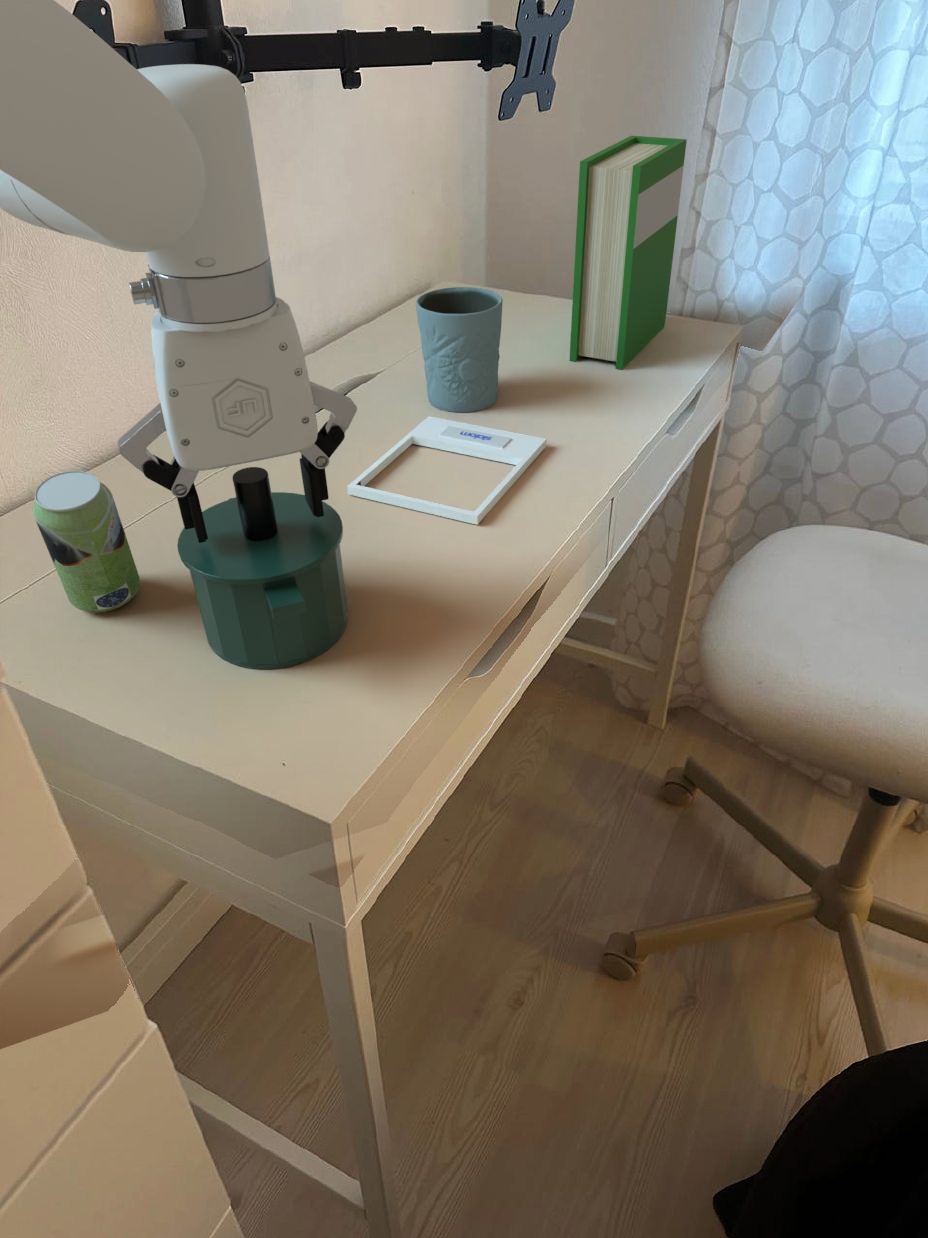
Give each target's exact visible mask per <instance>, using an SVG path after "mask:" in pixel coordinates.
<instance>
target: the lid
mask: <svg viewBox="0 0 928 1238" xmlns="http://www.w3.org/2000/svg"><path fill="white" fill-rule="evenodd" d="M232 484H233V487H234V493H235V497H236V498H235V497H232V498H233V499H230V498H229V499H230V500H229V499H227V500H224V501H222V502H219V503H217V504H214V505H212V506H210V507H208V508H206V509H204V510H202V515H203V519H204V523H205V528H206V532H207V536H208V539H207V540H206V542H202V543H199V542H198V538H197V535H196V532H195V529H194V528H191V529H186V530H185V527H184V526H183V529H181V532H180V534H179V536H178V539H177V552H178V556H179V559H180V561H181V563H182V564H183V565H184V566H185V567H186V568H187V569H188V570H189V572H190V571H192V572H193V573H195V574H197V575H199V576H201V577H203V578H205V579H209V580H212V581H216V582H221V583H227V584H241V585H248V584H262V583H269V582H274V581H279V580H283V579H287V578H291V577H293V576H296V575H299V574H302V573H304V572H306V571H308V570H310V569H312V568H314V567H316V566H318V565H319V564H321V563H322V562H323V561H325V560H326V559H327V558H328V557H330V556H331V555H332V554H333V553H334V551H335V550H336V549H337V548H338V546H339V544H341V542H342V539H343V536H344V527H343V522H342V517H341V516H340V515H339V513H338V511H336V509H335V508H333V506H332V505H330V504H329V503H328V502H325V501H324V500H323V501H322V504H323V512H324V516H321V517H317V516H314V515H313V513H312V511H311V509H310V508H309V506H308V504H307V502H306V499H305V494H302V493H295V492H283V491H282V492H280V491H272V488H271V483H270V477H269V473H268V470H266V469H265V468H264V467H260V466H249V467H245V468H244V467H243V468H241V469H239V470H237V471H235V472H234V473H233V474H232Z"/></svg>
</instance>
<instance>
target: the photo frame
mask: <svg viewBox="0 0 928 1238" xmlns="http://www.w3.org/2000/svg"><path fill="white" fill-rule="evenodd" d="M412 445H417V446H420V447H421V446H422V447H426V448H431V449H435V450H440V451H441V450H442V451H447V452H451V453H455V454H461V455H466V456H470V457H475V458H480V459H484V460H490V461H494V462H498V463H504V464H509V465H513V466H514V467H513V468H512V469H511V470H510V471H509V473H508V474H506V476H505V477H504V478H503V479H502V480H501V481H500V483H498V485H496V487H495V488H494V489H493V490H492V491H491V493H489V494H488V496H487V497H485V499H484V500H483V501H482V503H480V505H479V506H478V507H477V508H476V509H475V510H473V511H472V510H468V509H464V508H460V507H455V506H452V505H447V504H443V503H437V502H433V501H429V500H425V499H420V498H416V497H412V496H408V495H405V494H399V493H394V492H391V491H386V490H382V489H377V488H373V487H369V486H367V484H368V483H369V482H371V481H372V480H373V479H374V478H375V477H376V476H377V475H379V474H380V473H381V472H382V471H383V470H384V469H386V467H387V466H389V465H390V464H391V463H393V461H394V460H396V459H397V458H398V457H400V455H401V454H402V453H403V452H405V451H406V450H407V449H408V448H409V447H410V446H412ZM546 447H547V438H545V437H539V436H533V435H529V434H523V433H518V432H513V431H509V430H504V429H503V430H502V429H498V428H491V427H487V426H482V425H476V424H472V423H471V424H470V423H468V422H462V421H455V420H451V419H446V418H441V417H436V416H430V415H428V416H427V417H426V418H425V419H424V420H422V421H421V422H420V423H419V424H418V425H417V426H415V427H414V428H413V429H412V430H411V431H410V432H409V433H407V434H406V435H405V436H403V438H402V439H400V440H399V441H398V442H397V443H395V445H393V446H392V447H391V448H389V449H388V450H387V451H386V452H385V453H384V454H383V455H381V456H380V457H379V458H378V459H377V460H376V461H375V462H374V463H372V464H371V465H370V466H369V467H367V468H366V469H365V470H364V471H363V472H362V473H360V475H358V476H357V477H356V478H354V480H352V482H350V483H349V484H348V485H347V486H346V489H347V495H349V496H352V497H353V496H354V497H358V498H363V499H367V500H371V501H375V502H380V503H383V504H387V505H391V506H396V507H399V508H405V509H409V510H413V511H418V512H421V513H426V514H431V515H435V516H439V517H443V518H447V519H451V520H456V521H459V522H464V523H468V524H473V525H476V526H477V525H479V524H480V523H481V521H482V520H483V519H484V518H485V517H486V516H487V514H489V512H490V511H491V510H492V509H493V508H494V506H495V505H496V504H498V502H499V501H500V499H502V498H503V497H504V495H505V494H506V493H507V492H508V491H509V490H510V489H511V488H512V486H513V485H514V484H515V483H516V482H517V481H518V479H519V478H520V477H521V476H522V475H523V474H524V472H525V471H526V470H527V469H528V468H529V467H530V466H531V464H532V463H533V462H534V461H535V460H536V459H537V458H538V457H539V455H540V454H541V453H542V452H543V451H544V450H545V449H546Z"/></svg>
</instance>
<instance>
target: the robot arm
mask: <svg viewBox="0 0 928 1238" xmlns="http://www.w3.org/2000/svg"><path fill="white" fill-rule="evenodd" d="M0 209H1V210H2V211H4V212H5V213H7V214H8V215H10V216H12V217H14V218H15V219H17V220H19V221H22V222H24V223H28V224H29V225H33V226H35V227H39V228H41V229H42V228H43V229H46V230H49V231H52V232H56V233H59V234H63V235H66V236H71V237H75V238H79V239H83V240H85V241H90V242H94V243H97V244H100V245H103V246H106V247H110V248H113V249H117V250H120V251H124V252H131V253H145V255H146V259H147V262H148V264H147V267H148V270H149V272H145V276H146V277H142V278H140V279H139V280H137V281H130V282H128V287H129V290H130V295H131V298H132V301H133V304H134V305H141V304H146V306H151V305H152V306H153V309H154V310H157V309H158V310H157V311H156V312H154V314H153V315H152V316H151V318H150V319H151V320H150V324H151V325H150V331H151V332H150V333H151V334H150V337H151V351H152V358H153V368H154V375H155V383H156V389H157V395H158V399H159V403H158V404H157V405H156V406H155V407H154V408H153V409H151V410H150V411H149V412H148V413H147V414H146V415H145V416H143V417H142V418H141V419H140V420H139V421H138V422H137V423H135V424H134V425H133V426H132V427H131V428H130V429H128V431H127V432H125V433H124V434H123V435H122V436H120V438H119V439H118V441H117V446H118V451H119V454H120V455H121V457H123V458H124V459H125V460H127V461H128V462H129V463H130V464H131V465H132V466H133V467H134V468H136V469H137V470H139V471H140V472H141V473H142V474H143V475H144V476H145V478H147V479H148V480H150V481H152V482H154V483H156V484H158V485H159V486H160V487H163V488H165V489H166V490H168V491H170V492H171V494H172V495H173V496H174V497H176V499H177V504H178V508H179V512H180V516H181V520H182V524H183V528H184V527H185V530H186V529H191V528H194V529H195V532H196V535H197V538H198V542H199V543H202V542H206V540H207V539H208V536H207V532H206V528H205V523H204V519H203V515H202V512H203V510H202V506H201V503H200V498H199V494H198V491H197V488H196V485H195V483H194V482H195V480H196V478H197V477H198V474H199V472H200V471H202V472H203V471H211V470H216V469H222V468H227V467H232V466H237V465H238V466H239V465H243V464H249V463H253V462H259V461H262V460H268V459H269V460H270V459H274V458H278V457H283V456H288V455H292V454H297V453H300V458H299V466H300V473H301V479H302V486H303V492H304V493H303V494H304V495H305V499H306V502H307V504H308V506H309V508H310V509H311V511H312V513H313V515H314V516H317V517H321V516H324V512H323V504H322V501H323V502H324V501H327V500H329V498H330V497H329V490H328V489H329V488H328V481H327V474H326V468H327V467H328V466H329V464H330V458H331V457H332V455H333V454H334V453H335V451H337V450H338V448H339V447H340V445H341V444H342V443H343V441H344V440H345V437H346V435H345V434H346V431H347V430H348V429H349V427H350V425H351V423H352V421H353V419H354V417H355V416H356V413H357V411H358V410H357V409H358V408H357V405H356V403H355V402H354V401H353V400H352V398H351V397H349V396H347V395H344V394H342V393H339V392H337V391H335V390H332V389H330V388H328V387H325V386H324V385H320V384H318V383H315V382H313V381H311V380H310V377H309V373H308V368H307V367H308V366H307V362H306V357H305V353H304V349H303V346H302V341H301V337H300V334H299V331H298V326H297V324H296V319H295V317H294V315H293V312H292V309H291V307H290V305H289V304H288V303H287V302H286V301H284V300H283V299H282V298H280V297H277V295H276V290H275V282H274V277H273V269H272V263H271V256H270V249H269V248H270V247H269V243H268V235H267V227H266V221H265V214H264V207H263V199H262V194H261V186H260V179H259V173H258V167H257V159H256V152H255V147H254V139H253V131H252V126H251V119H250V111H249V107H248V102H247V95H246V92H245V89H244V86H243V85H242V82H241V81H240V79H238V77H237V76H236V75H235V73H232V72H231V71H230V70H229V69H226V68H223V67H221V66H217V65H210V64H198V63H197V64H195V63H185V64H184V63H181V64H179V63H178V64H163V65H154V66H147V67H142V68H138V69H137V68H136V67H135V66H133V65H132V64H131V63H130V62H129V61H128V60H126V58H124V56H122V55H121V54H120V53H118V52H117V51H116V50H115V49H114V48H113V47H112V46H111V45H109V44H108V43H107V42H106V41H105V40H104V39H102V37H100V36H99V35H98V34H97V33H95V32H94V31H93V30H92V29H90V27H88V26H87V25H86V24H84V23H83V22H82V21H81V19H79V18H77V17H76V16H75V14H73V13H72V12H71V11H69V10H68V9H67V8H66V7H64V6H63V5H61V4H60V3H59V2H57V1H56V0H0ZM315 407H318V408H320V409H323V410H326V411H328V412H330V414H329V417H328V420H327V421H325V423H324V424H323V426H322V427H321V428H320V430H319V431H318V422H317V421H318V420H317V414H316V408H315ZM165 431H166V436H167V439H168V443H169V446H170V449H171V451H172V454H173V457H172V459H171V461H170V463H169V462H167V461H166V460H164V459H162V458H160V457H158V456H157V455H155V454H153V453H151V451H149V449H148V447H149V446H150V444H152V443H153V442H154V441H155V440H156V439H158V438H159V437H160V436H161V435H162V434H163V433H165Z"/></svg>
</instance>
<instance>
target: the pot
mask: <svg viewBox="0 0 928 1238" xmlns="http://www.w3.org/2000/svg"><path fill="white" fill-rule="evenodd" d="M233 498H236V496H235V497H231V498H228V500H230V499H233ZM340 544H341V543H340ZM340 544H339V546H338V548H337V549H336V550H335V551H334V553H333V554H332V555H331V556H330V557H328V558H327V559H326V560H325V561H323V562H322V563H321V564H319V565H318V566H316V567H314V568H312V569H310V570H308V571H306V572H304V573H302V574H299V575H296V576H293V577H291V578H287V579H283V580H279V581H274V582H269V583H262V584H248V585H241V584H227V583H221V582H216V581H212V580H209V579H205V578H203V577H201V576H199V575H197V574H195V573H193V572H192V571H190V570H189V573H190V576H191V580H192V584H193V589H194V592H195V596H196V600H197V604H198V605H197V606H198V608H199V613H200V616H201V621H202V625H203V629H204V632H205V636H206V640H207V643H208V645H209V647H210V649H211V650H212V652H213V653H214V654H215V655H217V656H218V657H219V658H221V660H223V661H225V662H227V663H229V664H232V665H234V666H237V667H241V668H246V669H251V670H252V669H254V670H276V669H282V668H288V667H292V666H293V667H294V666H296V665H301V664H303V663H306V662H309V661H311V660H313V659H315V658H317V657H319V656H321V655H323V654H324V653H326V652H327V651H328V650H330V649H331V648H332V647H333V646H335V644H336V643H337V642H338V641H339V640H340V638H341V637H342V635H343V634H344V632H345V630H346V628H347V624H348V611H349V610H348V609H349V608H348V607H349V606H348V602H347V601H348V600H347V592H346V591H347V590H346V584H345V576H344V575H345V574H344V568H343V560H342V552H341V545H340Z"/></svg>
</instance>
